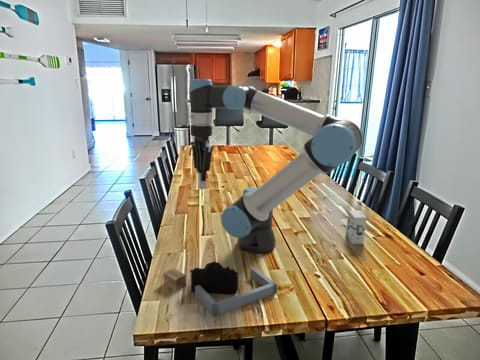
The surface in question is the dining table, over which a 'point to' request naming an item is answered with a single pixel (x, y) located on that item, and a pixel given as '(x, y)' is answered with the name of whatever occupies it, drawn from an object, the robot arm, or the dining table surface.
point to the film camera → (215, 279)
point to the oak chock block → (174, 279)
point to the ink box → (356, 227)
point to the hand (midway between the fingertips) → (202, 188)
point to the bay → (241, 299)
